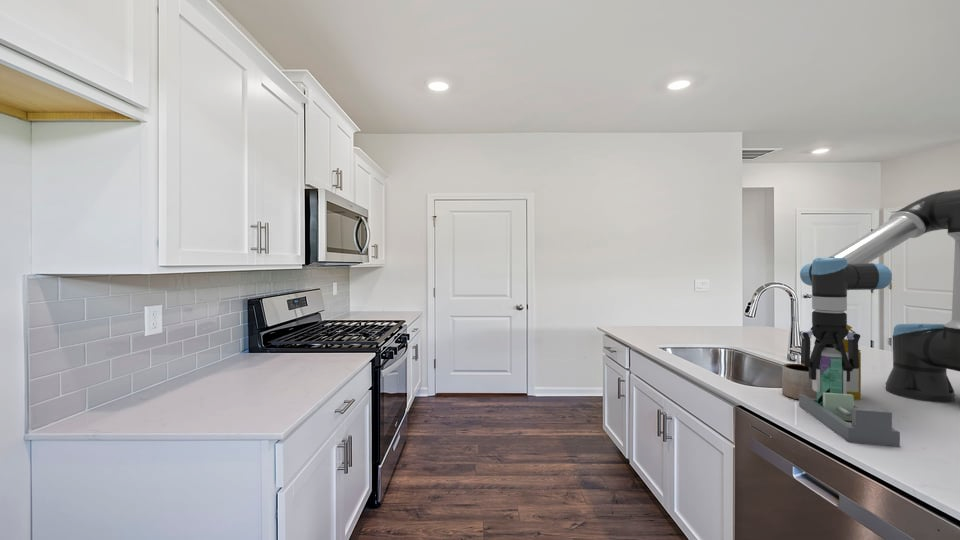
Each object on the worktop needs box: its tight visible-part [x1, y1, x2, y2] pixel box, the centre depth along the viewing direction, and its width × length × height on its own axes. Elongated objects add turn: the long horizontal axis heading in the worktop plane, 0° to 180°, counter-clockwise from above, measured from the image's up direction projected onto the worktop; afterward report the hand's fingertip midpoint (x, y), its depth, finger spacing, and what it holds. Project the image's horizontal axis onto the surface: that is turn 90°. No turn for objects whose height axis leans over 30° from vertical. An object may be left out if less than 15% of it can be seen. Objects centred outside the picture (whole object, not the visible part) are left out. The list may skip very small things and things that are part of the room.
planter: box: [781, 363, 817, 401], centre depth 129 cm, size 11×11×10 cm
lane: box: [798, 394, 901, 447], centre depth 108 cm, size 10×25×8 cm, turn 163°
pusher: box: [823, 393, 855, 422], centre depth 108 cm, size 6×5×7 cm
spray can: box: [817, 343, 842, 406], centre depth 114 cm, size 6×6×20 cm
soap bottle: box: [842, 324, 862, 401], centre depth 127 cm, size 7×13×24 cm, turn 158°
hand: (829, 391), depth 114 cm, fingers closed on spray can, 5 cm apart
